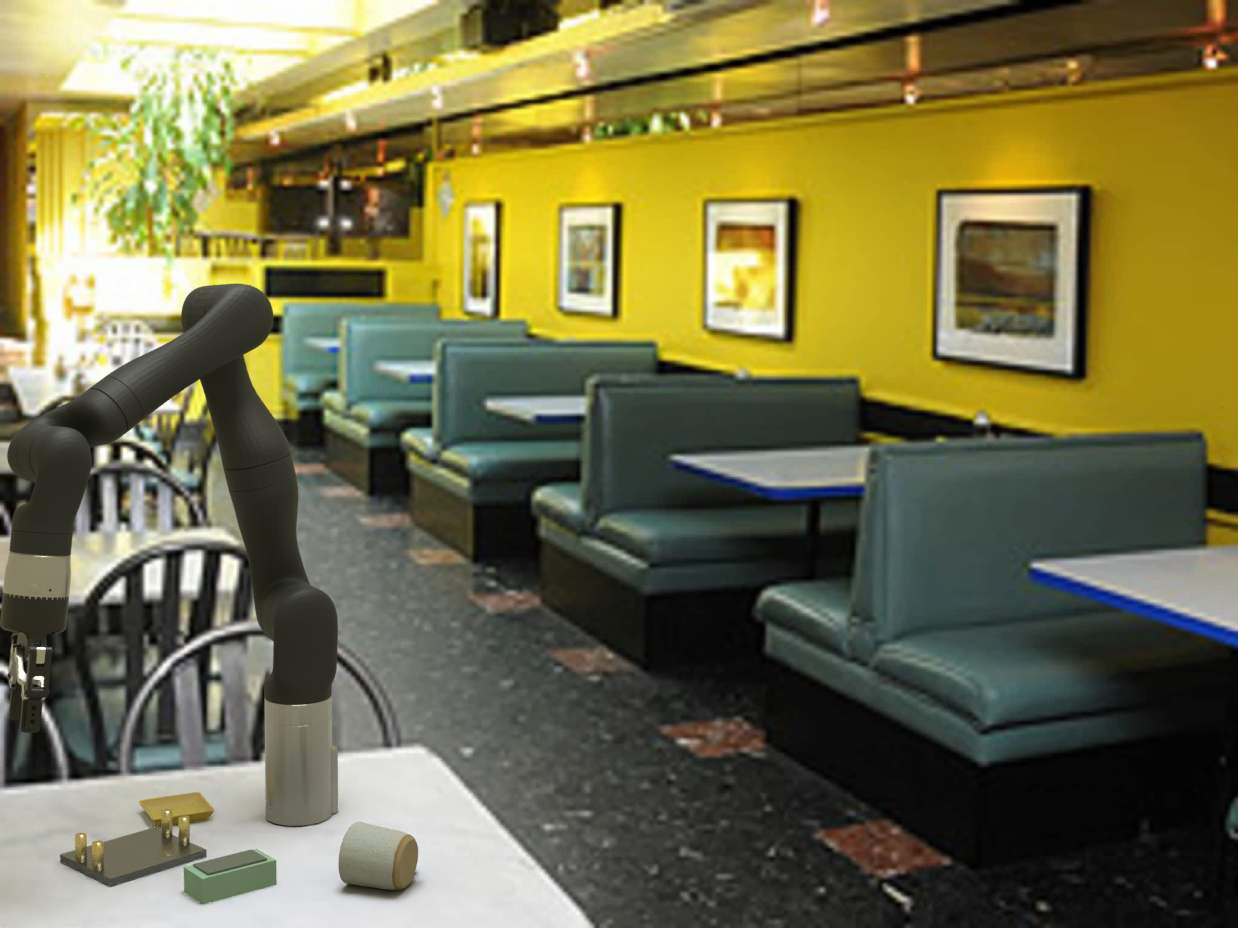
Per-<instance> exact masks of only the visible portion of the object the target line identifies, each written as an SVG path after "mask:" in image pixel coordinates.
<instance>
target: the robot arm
mask: <svg viewBox="0 0 1238 928" xmlns="http://www.w3.org/2000/svg"><path fill="white" fill-rule="evenodd" d="M273 310H274V309H273V306H272V304H271V301H270V299H269V298H268V297H267V295H266V294H265V293H264V292H263V290H260V289H259V288H258V287H256V286H252V285H251V284H246V283H239V282H238V283H225V284H212V285H210V284H209V285H202V286H199V287H196V288H194V289H193V290H191V291H190V292H189V293H188V294H187V296H186V297H185V299H184V301H183V304H182V307H181V314H180V319H181V326H182V327H181V328H182V334H180V335H178V336H176V337H175V338H173V339H171V340H170V341H168V342H167V343H165V344H163V345H161V346H159V347H157V348H154V349H152V350H149V351H148V352H147V353H143V354H142V355H139V356H138V357H136V358H134V359H132V360H130V361H128V362H126V363H124V364H123V365H120V366H119V367H117V368H116V369H114V370H112V372H109V374H107V375H105V376H104V377H103V378H101V379H100V380H99V381H97V382H96V383H94V384H93V385H92V386H91V387H89V388H88V389H87V390H85V391H84V392H83V393H82V394H80V395H79V396H78V397H76V398H74V399H72V400H71V401H68V402H67V403H64V404H62V405H60V406H58V407H55V408H54V409H51V410H50V411H48V412H45V413H44V414H42V415H40V416H38V417H37V418H35V419H33V420H31V421H30V422H28V423H27V424H25V425H23V427H21V428H20V429H19V430H18V431H17V432H16V434H15V435H14V436H12V439H11V440H10V443H9V445H8V446H7V447H8V448H7V453H6V458H7V459H6V460H7V463H8V466H9V468H10V470H11V471H12V472H13V473H14V474H15V476H17V477H18V478H20V479H22V480H25V481H27V482H29V483H30V482H31V483H34V487H33V490H32V493H31V497H30V499H29V501H28V502H27V503H24V504H21V505H19V506H18V507H17V508H16V509H15V510H14V513H13V516H12V521H11V531H10V539H9V541H10V542H9V552H8V557H7V562H6V566H5V570H4V579H3V588H2V590H3V591H2V599H1V609H0V629H3V630H4V631H8V632H12V635H11V638H10V639H11V642H10V643H11V645H10V654H9V664H8V671H7V674H6V675H7V676H6V677H7V680H8V685H9V688H10V696H9V707H8V708H9V709H8V718H9V719H10V720H11V721H19V730H20V732H22V733H24V734H26V733H27V734H28V733H30V734H33V733H34V734H36V733H39V732H40V730H41V724H42V712H43V705H44V704H43V703H44V701H45V699H47V698H48V697H49V695H50V681H51V679H50V677H51V671H52V670H51V669H52V658H53V657H52V655H53V651H54V650H53V647H52V646H47V636H48V635H49V634H56V635H57V634H60V633H63V632H65V631H66V629H67V623H68V622H67V621H68V612H69V602H70V601H69V600H70V590H71V582H72V581H71V580H72V566H71V565H72V563H71V562H72V561H71V559H72V558H71V555H72V548H73V547H72V546H73V545H72V544H73V536H74V535H73V534H74V523H75V519H76V517H77V515H78V512H79V510H80V507H81V504H82V501H83V498H84V495H85V492H86V489H87V486H88V483H89V481H90V475H91V471H92V463H93V462H92V461H93V460H92V451H91V449H92V448H94V447H99V446H105V445H109V444H112V443H114V442H116V441H117V440H119V439H120V438H122V437H123V436H124V435H126V434H127V433H128V432H129V431H131V430H132V429H133V428H135V427H136V426H137V425H138V424H140V423H141V422H142V421H143V420H145V419H146V418H147V417H149V416H150V415H151V414H153V412H155V411H156V410H157V409H159V408H160V407H162V406H163V405H164V404H165V403H167V402H168V401H170V400H171V399H172V398H174V397H175V396H177V395H178V394H179V393H181V392H183V391H184V390H185V389H187V388H189V387H190V386H191V385H194V383H196V382H198V381H199V382H200V384H201V387H202V390H203V394H204V397H205V399H206V404H207V407H208V408H207V409H208V411H209V412H208V413H209V415H210V419H211V423H212V428H213V430H214V434H215V437H216V441H217V445H218V450H219V454H220V459H221V464H222V468H223V469H222V470H223V473H224V477H225V481H226V485H227V488H228V493H229V496H230V500H231V502H232V506H233V509H234V513H235V517H236V521H237V525H238V529H239V533H240V535H241V538H242V541H243V544H244V548H245V551H246V555H247V559H248V568H249V572H250V580H251V588H252V595H253V603H254V611H255V617H256V620H257V624H258V626H259V627H260V630H261V631H262V632H263V634H264V635H265V636H266V637H267V638H268V639H270V640H271V641H273V643H272V644H273V652H272V653H273V655H272V660H273V661H272V671H271V673H270V674H268V675H267V676H266V677H265V679H264V685H263V690H264V692H263V693H264V695H263V696H264V763H265V764H264V770H265V772H264V778H265V781H264V783H265V789H264V791H265V797H264V799H265V818H266V820H267V821H268V822H271V823H274V824H276V825H280V826H281V825H282V826H290V827H291V826H293V827H297V826H300V827H301V826H309V825H314V824H318V823H321V822H325V821H326V820H328V819H329V818H331V817H332V815H333V814H335V813H339V766H338V765H339V750H338V747H337V746H336V745H333V719H332V718H333V716H332V715H333V712H332V709H333V705H332V700H333V699H332V697H333V696H332V691H333V690H332V689H333V687H332V686H333V683H334V681H335V677H336V674H337V669H338V668H337V667H338V644H339V643H338V642H339V641H338V639H339V638H338V637H339V624H338V623H339V622H338V621H339V620H338V612H337V607H336V606H335V603H334V601H333V599H332V598H331V596H329V594H328V593H327V592H325V591H324V590H321V589H319V588H318V587H316V586H313V585H311V583H310V580H309V578H308V575H307V573H306V570H305V567H304V563H303V560H302V556H301V553H300V549H299V545H298V535H297V523H298V522H297V521H298V511H299V484H298V478H297V474H296V468H295V464H294V461H293V460H294V459H293V455H292V453H291V451H292V450H291V448H290V444H289V442H288V439H287V437H286V434H285V432H284V431H283V429H282V428H281V427H282V426H280V425H279V423H278V421H277V420H276V419H275V417H274V416H273V414H272V412H271V411H270V410H269V409H268V407H267V406H266V404H265V403H264V402H263V400H262V398H261V397H260V395H259V394H258V392H257V390H256V389H255V387H254V385H253V383H252V380H251V377H250V375H249V371H248V368H247V363H246V360H245V356H244V355H246V354H247V353H249V352H252V351H253V350H255V349H257V348H259V347H260V346H261V345H262V344H264V342H266V340H267V338H268V336H270V334H271V331H272V328H273V326H274V311H273ZM33 685H36V686H33Z"/></svg>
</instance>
